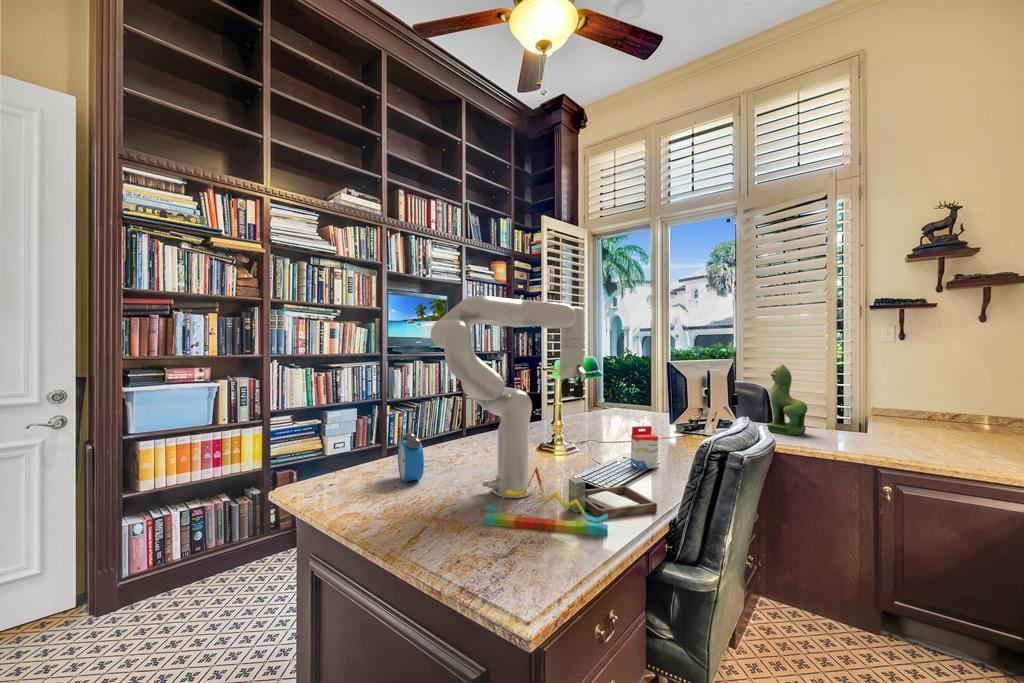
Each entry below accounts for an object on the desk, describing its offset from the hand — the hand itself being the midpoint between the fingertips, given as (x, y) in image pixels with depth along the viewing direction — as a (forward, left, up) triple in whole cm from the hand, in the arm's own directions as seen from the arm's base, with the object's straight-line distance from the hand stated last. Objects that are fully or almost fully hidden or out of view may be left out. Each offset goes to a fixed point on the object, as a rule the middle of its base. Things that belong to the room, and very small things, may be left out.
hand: (571, 395), depth 149 cm
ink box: (+33, +7, -28) cm, 44 cm away
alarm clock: (-51, +15, -28) cm, 60 cm away
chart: (-22, -32, -29) cm, 48 cm away
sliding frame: (0, -24, -28) cm, 37 cm away
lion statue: (+140, +40, -28) cm, 148 cm away
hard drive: (+2, -24, -28) cm, 37 cm away
